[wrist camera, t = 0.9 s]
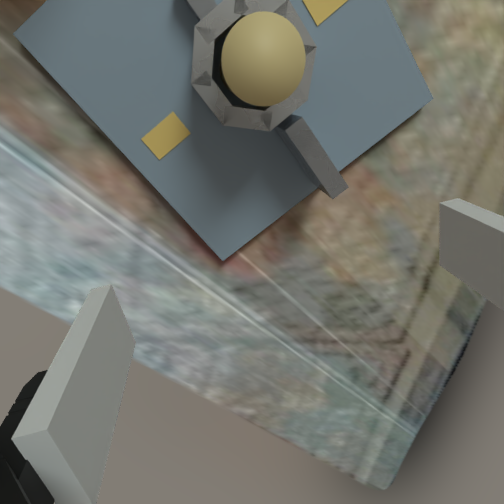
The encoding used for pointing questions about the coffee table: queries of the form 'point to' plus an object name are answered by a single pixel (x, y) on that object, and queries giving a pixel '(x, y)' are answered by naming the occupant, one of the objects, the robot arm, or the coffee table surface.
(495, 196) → the coffee table surface
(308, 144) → the collar
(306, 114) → the board
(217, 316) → the coffee table surface
